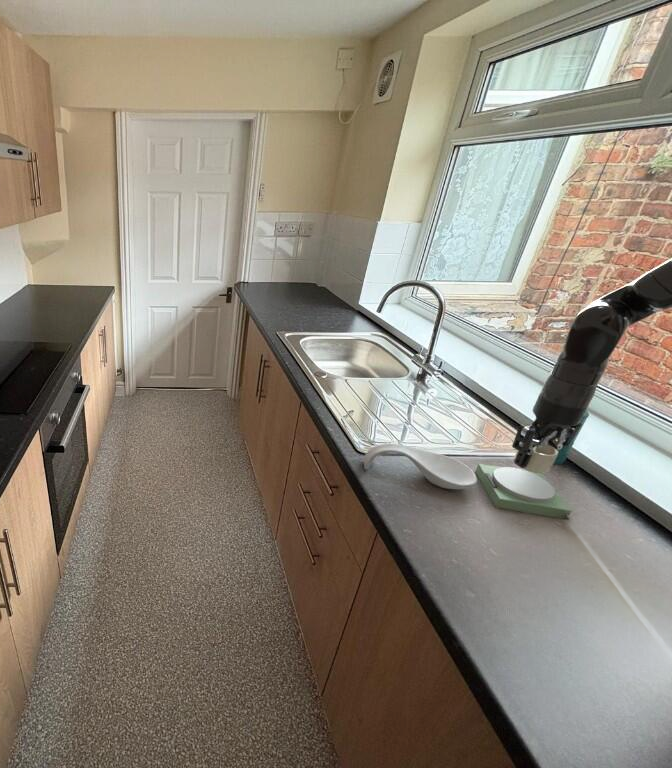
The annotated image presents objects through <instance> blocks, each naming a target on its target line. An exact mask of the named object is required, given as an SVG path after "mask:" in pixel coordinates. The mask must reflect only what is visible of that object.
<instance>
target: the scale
mask: <svg viewBox="0 0 672 768" xmlns="http://www.w3.org/2000/svg"><path fill="white" fill-rule="evenodd" d="M474 473H475V475H476V476H477V477H478V479H479V480H480V482H481V484H482V486H483V487H484V490H485V491H486V492H487V494H488V496H489V498H490V500H491V501H492V504H493V505H494V507H495V508H497V509H503V510H508V511H516V512H520V513H527V514H532V515H539V516H543V517H551V518H555V519H562V520H568V518H569V516H568V515H570V514H571V513H572V510H571V508H570V507H569V506H568V504H567V503H566V502H565V500H563V498H562V497H561V496H560V494H559V493H558V492H557V491H556V489H555V488H554V487H553V486H552V485H551V483H550V482H549V480H548V479H547V478H546V476H545V475H544V473H534V472H530V471H527V470H525V469H523V468H518V467H510V466H497V465H489V464H484V463H483V464H482V463H477V466H476V469H475V472H474Z"/></svg>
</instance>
